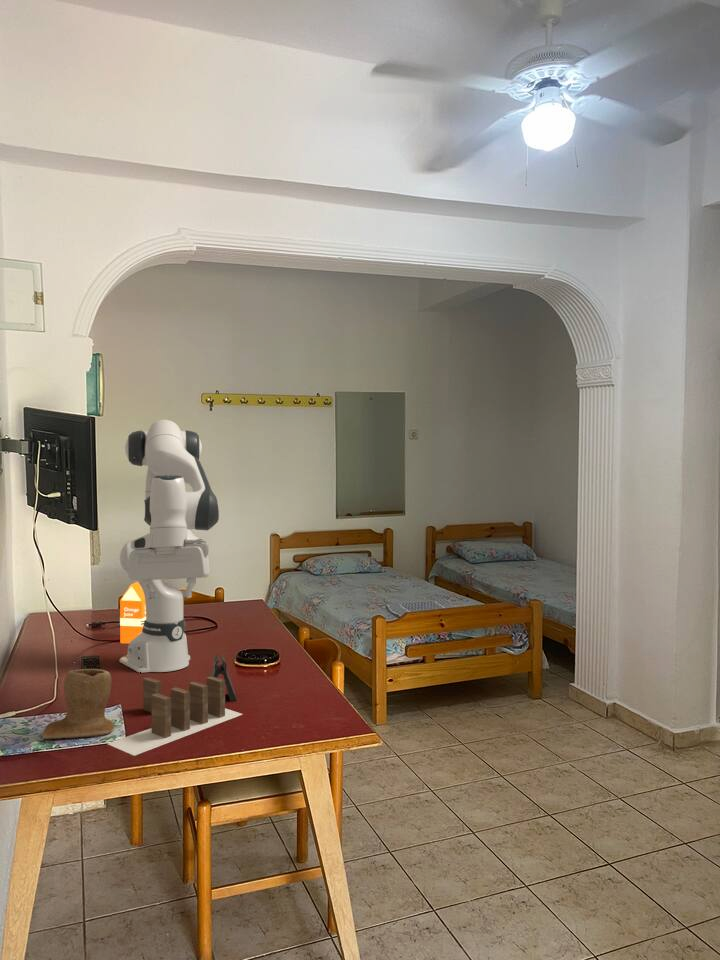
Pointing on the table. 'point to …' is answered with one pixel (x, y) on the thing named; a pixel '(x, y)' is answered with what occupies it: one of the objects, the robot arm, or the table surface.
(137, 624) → the orange juice
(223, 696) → the domino
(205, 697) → the domino
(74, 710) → the brown boot
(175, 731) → the board
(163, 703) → the domino
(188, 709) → the domino
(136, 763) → the table surface
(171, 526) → the robot arm
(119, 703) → the table surface
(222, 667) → the dark grey a-frame stand
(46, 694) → the table surface
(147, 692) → the domino
